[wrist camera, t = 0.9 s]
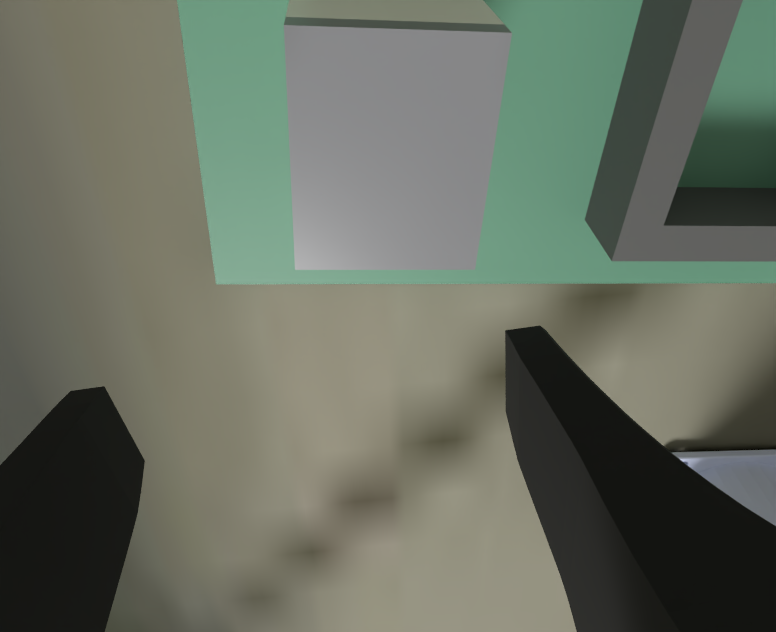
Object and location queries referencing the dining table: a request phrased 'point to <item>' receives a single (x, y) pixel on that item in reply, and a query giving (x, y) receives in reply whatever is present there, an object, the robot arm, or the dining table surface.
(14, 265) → the dining table surface
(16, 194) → the dining table surface
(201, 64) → the board
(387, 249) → the plug
